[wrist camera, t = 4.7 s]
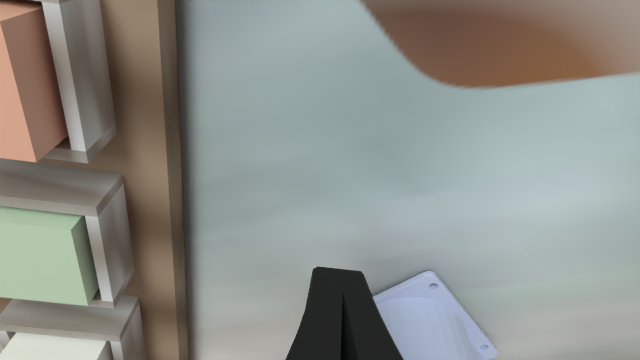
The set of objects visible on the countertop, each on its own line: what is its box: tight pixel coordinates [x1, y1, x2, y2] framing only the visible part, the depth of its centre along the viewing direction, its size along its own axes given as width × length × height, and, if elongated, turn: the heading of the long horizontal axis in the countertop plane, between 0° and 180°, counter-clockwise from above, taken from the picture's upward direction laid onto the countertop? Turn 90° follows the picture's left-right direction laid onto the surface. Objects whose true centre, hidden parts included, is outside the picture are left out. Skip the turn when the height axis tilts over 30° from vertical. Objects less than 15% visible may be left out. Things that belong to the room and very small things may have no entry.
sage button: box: [0, 206, 99, 306], centre depth 18 cm, size 4×4×3 cm
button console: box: [0, 0, 189, 360], centre depth 19 cm, size 28×10×4 cm, turn 172°
